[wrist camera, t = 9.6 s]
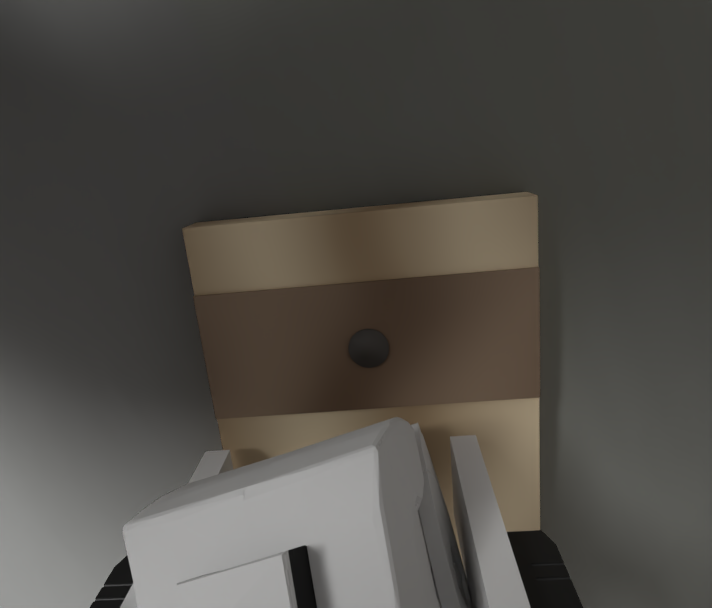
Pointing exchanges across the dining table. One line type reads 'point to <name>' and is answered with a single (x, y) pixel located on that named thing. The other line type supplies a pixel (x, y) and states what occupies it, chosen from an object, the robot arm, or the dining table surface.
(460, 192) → the dining table surface
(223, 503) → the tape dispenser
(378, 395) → the plywood panel
